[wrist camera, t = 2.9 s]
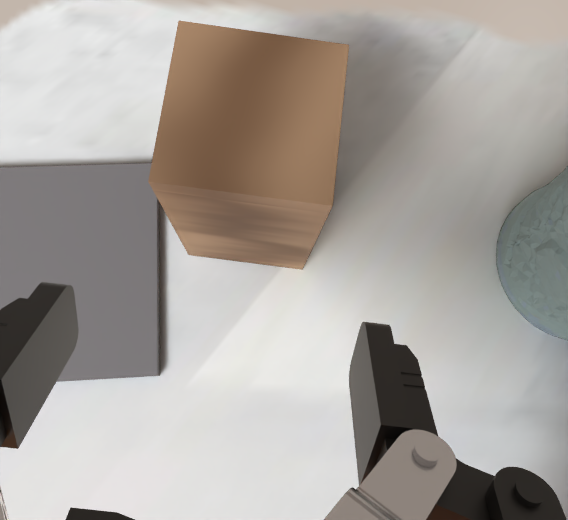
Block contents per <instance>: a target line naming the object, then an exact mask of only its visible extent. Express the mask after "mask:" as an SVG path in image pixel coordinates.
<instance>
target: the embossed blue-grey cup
mask: <svg viewBox="0 0 568 520" xmlns="http://www.w3.org/2000/svg"><path fill="white" fill-rule="evenodd" d="M496 258H497V269H498V273H499V277H500V281H501V284H502V286H503V288H504V290H505V292H506V294H507V296H508V298H509V300H510V301H511V303H512V304H513V305H514V307H515V308H516V309H517V310H518V311H519V312H520V313H521V315H522V316H523V317H524V318H525V319H526V320H528V321H529V322H530V323H531V324H533V325H534V326H535V327H537V328H539V329H541V330H542V331H544V332H546V333H548V334H550V335H553V336H556V337H558V338H562V339H565V340H568V166H567V167H566V169H565V170H564V171H563V172H562V173H561V174H559V175H558V176H557V177H556V178H555V179H554V180H553V181H552V182H550V183H549V184H548V185H546V186H544V187H542V188H540V189H538V190H535V191H534V192H532V193H531V194H530V195H529V196H527V197H526V198H525V199H524V200H523V201H521V202H520V203H519V204H518V205H517V206H516V207H515V208H514V209H513V210H512V211H511V213H510V214H509V215H508V217H507V219H506V220H505V222H504V225H503V227H502V229H501V232H500V235H499V238H498V242H497V253H496Z"/></svg>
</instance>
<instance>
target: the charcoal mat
mask: <svg viewBox="0 0 568 520" xmlns="http://www.w3.org/2000/svg"><path fill="white" fill-rule="evenodd" d="M151 164H152V163H136V164H101V165H66V166H31V167H0V310H1V309H2V308H3V307H5V306H6V305H8V304H10V303H11V302H13V301H15V300H16V299H18V298H26V299H28V298H29V296H30V295H31V294H32V293H33V291H34V290H35V289H36V288H37V286H38V285H39V284H40V283H41V282H49V283H57V284H65V285H71V286H72V287H73V289H74V295H75V303H76V311H77V319H78V328H79V332H78V340H77V344H76V347H75V349H74V351H73V353H72V355H71V357H70V358H69V360H68V362H67V364H66V365H65V367H64V369H63V371H62V372H61V374H60V376H59V378H58V379H57V381H74V380H92V379H109V378H126V377H144V376H160V360H159V200H158V198H157V197H156V195H155V193H154V191H153V189H152V188H151V186H150V184H149V182H148V180H149V175H150V169H151ZM57 381H56V382H57Z"/></svg>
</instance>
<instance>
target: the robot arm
mask: <svg viewBox="0 0 568 520" xmlns="http://www.w3.org/2000/svg"><path fill="white" fill-rule="evenodd" d="M78 332H79V328H78V319H77V311H76V303H75V295H74V289H73V287H72V286H71V285H65V284H57V283H49V282H41V283H40V284H39V285H38V286H37V288H36V289H35V290H34V291H33V293H32V294H31V295H30V296H29V298H28V299H26V298H18V299H16V300H15V301H13V302H11V303H10V304H8V305H6V306H5V307H3V308H2V309H1V310H0V447H8V448H17V449H18V448H19V446H20V444H21V443H22V441H23V439H24V437H25V436H26V434H27V432H28V430H29V429H30V427H31V425H32V423H33V422H34V420H35V418H36V416H37V414H38V413H39V411H40V409H41V407H42V406H43V404H44V402H45V400H46V399H47V397H48V395H49V393H50V392H51V390H52V388H53V386H54V385H55V383H56V381H57V379H58V378H59V376H60V374H61V372H62V371H63V369H64V367H65V365H66V364H67V362H68V360H69V358H70V357H71V355H72V353H73V351H74V349H75V347H76V344H77V340H78ZM421 375H422V374H421V371H420V367H419V363H418V360H417V358H416V357H415V356H414V354H413V353H412V352H411V351H410V349H409V348H408V347H407V345H398V344H394V340H393V336H392V331H391V327H390V326H389V325H385V324H377V323H369V322H362V324H361V327H360V330H359V334H358V338H357V341H356V345H355V349H354V353H353V356H352V360H351V365H350V373H349V387H350V397H351V407H352V417H353V427H354V438H355V448H356V458H357V468H358V478H359V487H358V488H357V489H354V488H351V489H349V490H348V491H347V492H346V493H345V494H344V496H343V497H342V498H341V499H340V501H339V502H338V503H337V504H336V505H335V507H334V508H333V509H332V510H331V512H330V513H329V514H328V515H327V516H326V518H325V519H324V520H566V517H565V515H564V512H563V510H562V507H561V504H560V502H559V500H558V497H557V495H556V494H555V492H554V491H553V489H552V488H551V487H550V486H549V485H548V484H547V483H546V482H545V481H544V480H543V479H541V478H540V477H539V476H537V475H536V474H534V473H532V472H530V471H528V470H525V469H523V468H518V467H506V468H503V469H501V470H500V471H499V472H498V473H497V474H496V476H493V475H490V474H488V473H485V472H483V471H480V470H478V469H475V468H473V467H470V466H468V465H466V464H464V463H462V462H461V461H459V460H458V459H456V458H455V455H454V453H453V451H452V449H451V448H450V447H449V445H448V444H447V443H446V442H445V441H444V440H442V439H441V438H440V437H438V434H437V430H436V427H435V423H434V419H433V415H432V412H431V408H430V404H429V400H428V397H427V393H426V390H425V386H424V382H423V378H422V377H421ZM0 520H9V518H8V514H7V510H6V506H5V502H4V499H3V495H2V491H1V487H0ZM66 520H134V519H132V518H129V517H127V516H124V515H122V514H119V513H116V512H107V511H97V510H88V509H79V508H70V510H69V513H68V515H67V518H66Z"/></svg>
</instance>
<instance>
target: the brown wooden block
mask: <svg viewBox="0 0 568 520" xmlns="http://www.w3.org/2000/svg"><path fill="white" fill-rule="evenodd" d="M348 50H349V45H346V44H339V43H332V42H325V41H318V40H311V39H304V38H297V37H290V36H283V35H276V34H269V33H262V32H255V31H248V30H241V29H234V28H227V27H220V26H213V25H206V24H199V23H192V22H185V21H179V22H178V27H177V32H176V38H175V43H174V48H173V53H172V59H171V64H170V69H169V75H168V80H167V85H166V90H165V96H164V101H163V106H162V111H161V117H160V122H159V127H158V132H157V138H156V143H155V148H154V153H153V159H152V164H151V169H150V175H149V180H148V182H149V184H150V186H151V188H152V189H153V191H154V193H155V195H156V197H157V198H158V200H159V202H160V204H161V206H162V207H163V209H164V211H165V213H166V215H167V217H168V218H169V220H170V222H171V224H172V226H173V227H174V229H175V231H176V233H177V235H178V236H179V238H180V240H181V242H182V244H183V246H184V247H185V249H186V251H187V253H188V255H193V256H201V257H209V258H217V259H224V260H232V261H240V262H248V263H256V264H263V265H271V266H279V267H287V268H295V269H303V267H304V265H305V263H306V261H307V259H308V257H309V255H310V253H311V250H312V248H313V246H314V244H315V242H316V240H317V238H318V236H319V234H320V232H321V229H322V227H323V225H324V223H325V221H326V219H327V217H328V215H329V213H330V210H331V208H332V206H333V198H334V188H335V178H336V168H337V158H338V148H339V138H340V129H341V119H342V109H343V99H344V89H345V79H346V70H347V60H348Z"/></svg>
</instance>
